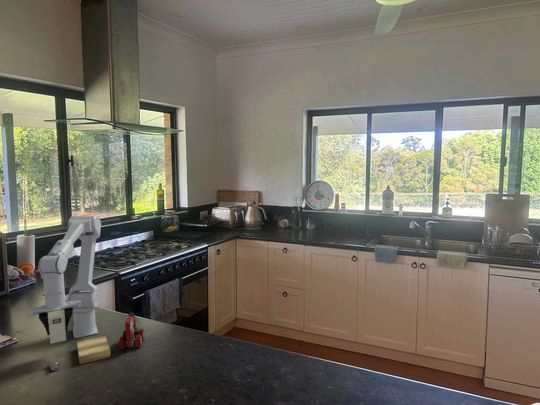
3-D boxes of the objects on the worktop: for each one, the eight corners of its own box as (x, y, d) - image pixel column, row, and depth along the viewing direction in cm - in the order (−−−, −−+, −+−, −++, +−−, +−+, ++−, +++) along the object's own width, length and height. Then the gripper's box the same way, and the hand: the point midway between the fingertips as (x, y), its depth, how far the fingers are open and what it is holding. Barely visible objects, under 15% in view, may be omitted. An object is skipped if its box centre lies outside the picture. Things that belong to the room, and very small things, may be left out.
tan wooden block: (77, 348, 131) (76, 341, 131) (105, 342, 136) (105, 335, 136) (79, 364, 121) (79, 356, 121) (110, 356, 125) (110, 349, 125)
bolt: (45, 367, 119) (45, 360, 119) (54, 364, 121) (53, 357, 121) (51, 372, 116) (51, 365, 116) (60, 369, 118) (59, 361, 118)
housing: (50, 334, 128) (48, 315, 127) (65, 331, 130) (63, 312, 129) (50, 343, 121) (48, 323, 120) (66, 340, 123) (64, 320, 122)
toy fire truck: (145, 335, 141) (144, 308, 140) (139, 351, 129) (138, 321, 128) (125, 337, 140) (124, 309, 139) (118, 353, 128) (116, 323, 127)
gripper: (27, 300, 117) (31, 342, 118) (80, 291, 124) (83, 331, 125) (28, 293, 123) (31, 334, 124) (78, 285, 130) (81, 324, 131)
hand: (57, 332), depth 125 cm, fingers closed on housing, 4 cm apart
